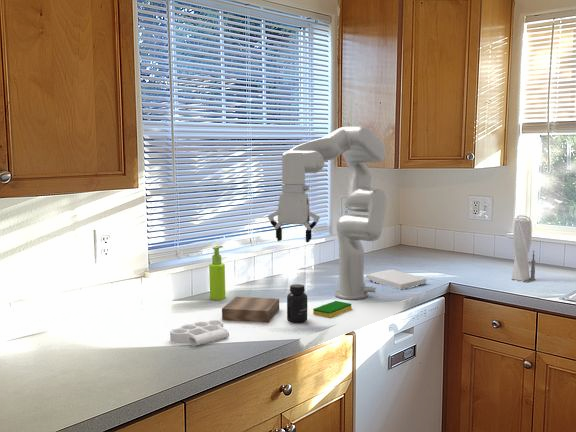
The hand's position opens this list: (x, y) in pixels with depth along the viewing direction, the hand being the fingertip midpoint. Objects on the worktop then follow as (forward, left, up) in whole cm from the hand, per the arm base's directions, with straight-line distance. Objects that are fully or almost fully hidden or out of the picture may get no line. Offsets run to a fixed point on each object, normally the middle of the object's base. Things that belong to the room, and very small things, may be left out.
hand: (293, 241), depth 199 cm
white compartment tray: (+25, +23, -27) cm, 44 cm away
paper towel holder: (-83, -74, -27) cm, 114 cm away
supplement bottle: (-1, +1, -27) cm, 27 cm away
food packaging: (-31, -60, -28) cm, 73 cm away
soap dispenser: (+35, -23, -27) cm, 50 cm away
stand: (+16, -3, -27) cm, 31 cm away
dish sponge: (-11, -12, -27) cm, 32 cm away
